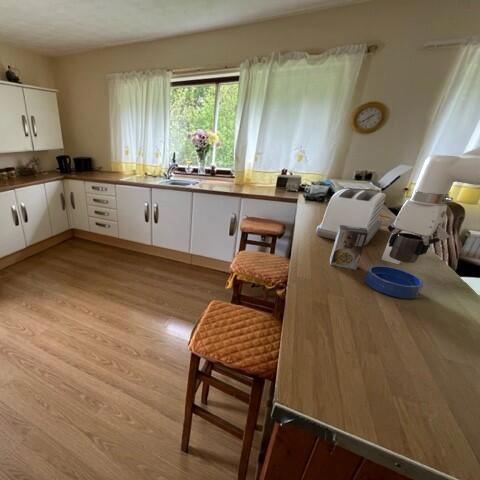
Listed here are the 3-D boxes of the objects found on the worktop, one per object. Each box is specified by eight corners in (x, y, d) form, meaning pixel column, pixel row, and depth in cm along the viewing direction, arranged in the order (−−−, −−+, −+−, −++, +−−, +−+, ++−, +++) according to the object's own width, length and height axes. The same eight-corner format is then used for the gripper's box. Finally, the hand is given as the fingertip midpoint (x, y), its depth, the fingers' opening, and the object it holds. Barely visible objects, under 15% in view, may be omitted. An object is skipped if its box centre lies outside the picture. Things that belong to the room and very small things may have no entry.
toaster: (381, 227, 150) (394, 189, 141) (364, 248, 121) (381, 203, 112) (336, 218, 165) (346, 183, 156) (312, 235, 136) (323, 194, 128)
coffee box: (354, 264, 107) (367, 228, 101) (356, 270, 102) (369, 233, 95) (329, 258, 111) (339, 224, 105) (329, 265, 106) (340, 228, 100)
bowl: (426, 293, 87) (432, 281, 85) (403, 304, 82) (409, 291, 80) (378, 273, 99) (382, 262, 98) (355, 281, 94) (359, 270, 92)
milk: (398, 264, 107) (420, 214, 98) (380, 259, 111) (399, 211, 102) (401, 260, 110) (423, 211, 101) (384, 255, 114) (403, 208, 106)
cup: (419, 260, 84) (430, 238, 81) (408, 264, 82) (419, 241, 79) (395, 252, 90) (404, 231, 87) (384, 255, 88) (393, 234, 85)
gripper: (474, 203, 72) (445, 259, 79) (400, 191, 87) (382, 239, 94) (461, 206, 69) (433, 263, 76) (388, 193, 84) (370, 242, 91)
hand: (405, 249), depth 85 cm, fingers closed on cup, 6 cm apart
